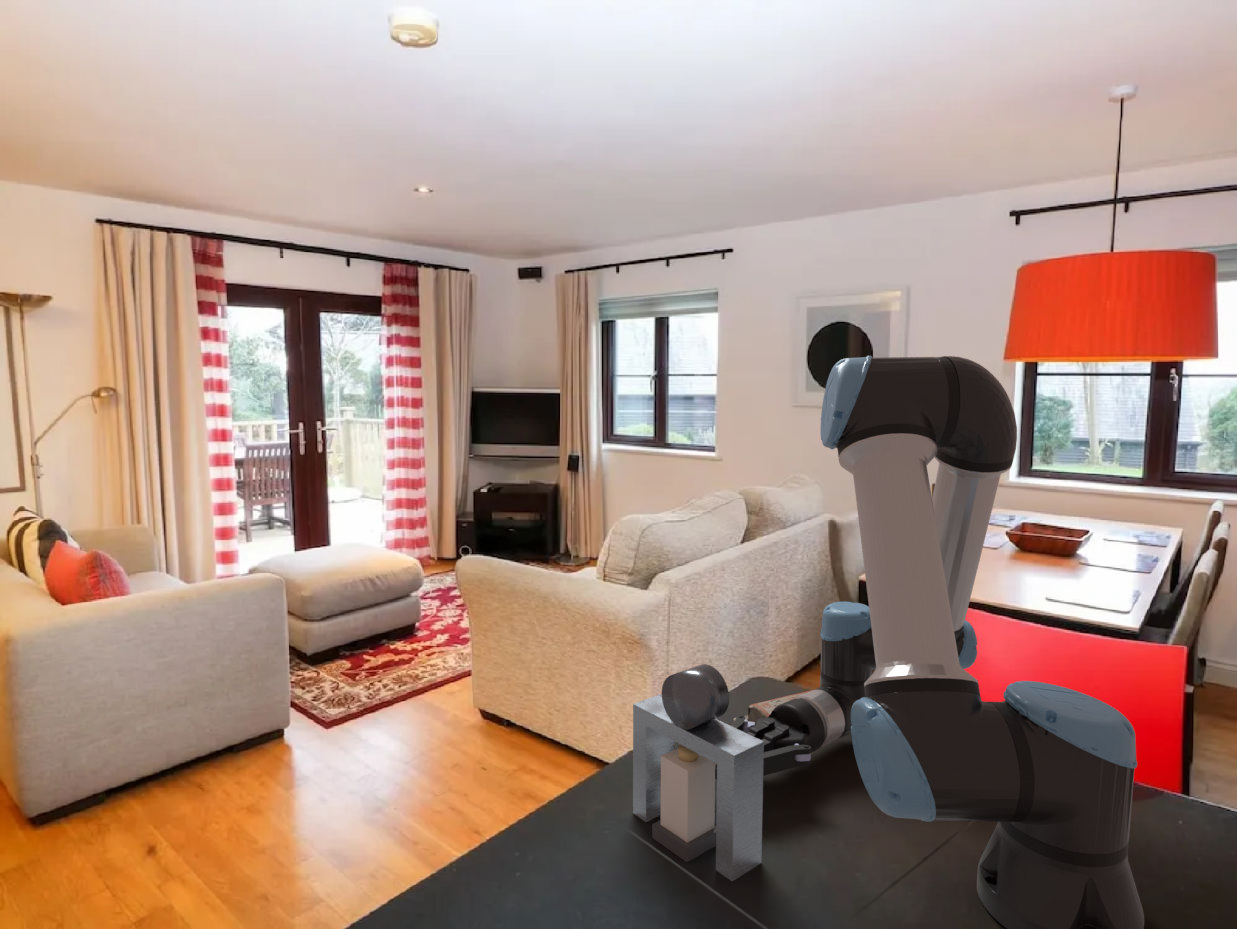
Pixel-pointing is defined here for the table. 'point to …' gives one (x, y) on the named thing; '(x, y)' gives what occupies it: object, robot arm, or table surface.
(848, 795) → the table surface
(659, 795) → the grey metal arch
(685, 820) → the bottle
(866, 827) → the table surface
